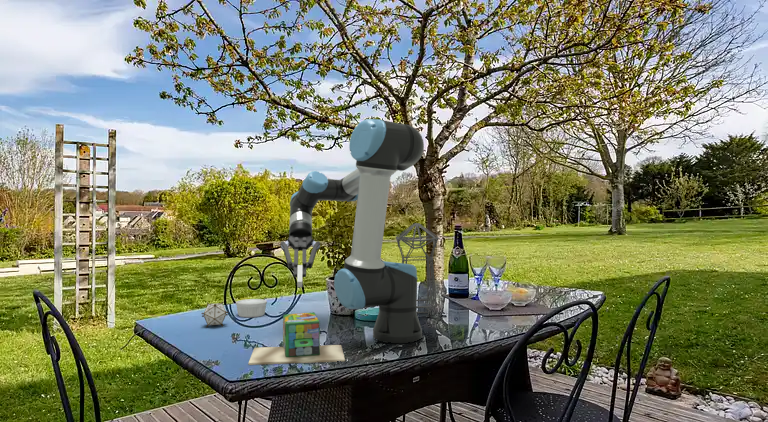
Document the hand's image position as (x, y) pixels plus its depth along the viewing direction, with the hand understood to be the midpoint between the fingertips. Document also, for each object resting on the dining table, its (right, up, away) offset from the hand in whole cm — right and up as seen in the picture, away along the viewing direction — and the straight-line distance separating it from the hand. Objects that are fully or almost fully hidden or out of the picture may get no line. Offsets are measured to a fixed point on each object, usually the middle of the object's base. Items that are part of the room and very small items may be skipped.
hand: (299, 284), depth 146 cm
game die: (-31, -16, +15) cm, 38 cm away
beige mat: (+3, -16, -18) cm, 24 cm away
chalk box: (+1, -11, -9) cm, 15 cm away
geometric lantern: (+38, -17, +35) cm, 54 cm away
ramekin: (-24, -17, +33) cm, 44 cm away
